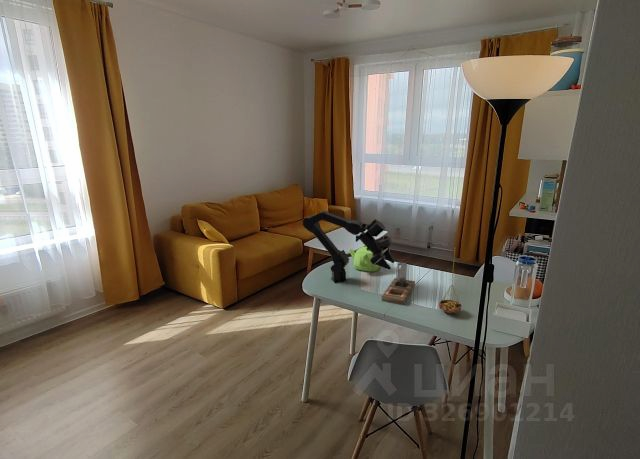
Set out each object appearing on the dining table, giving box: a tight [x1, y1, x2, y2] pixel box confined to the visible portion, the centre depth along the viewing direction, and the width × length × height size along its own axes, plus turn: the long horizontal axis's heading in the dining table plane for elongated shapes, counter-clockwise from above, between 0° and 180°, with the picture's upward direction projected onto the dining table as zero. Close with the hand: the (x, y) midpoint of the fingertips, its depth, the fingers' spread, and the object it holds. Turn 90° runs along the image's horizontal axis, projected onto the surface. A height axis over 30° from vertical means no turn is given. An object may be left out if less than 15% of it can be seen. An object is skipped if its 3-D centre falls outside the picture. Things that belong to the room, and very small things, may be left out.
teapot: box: [348, 246, 381, 273], centre depth 194 cm, size 18×20×13 cm
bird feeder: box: [438, 248, 462, 314], centre depth 141 cm, size 9×9×30 cm
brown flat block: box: [381, 277, 416, 306], centre depth 163 cm, size 22×10×3 cm, turn 153°
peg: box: [397, 262, 408, 288], centre depth 166 cm, size 4×4×13 cm
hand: (392, 265), depth 166 cm, fingers open, 9 cm apart
